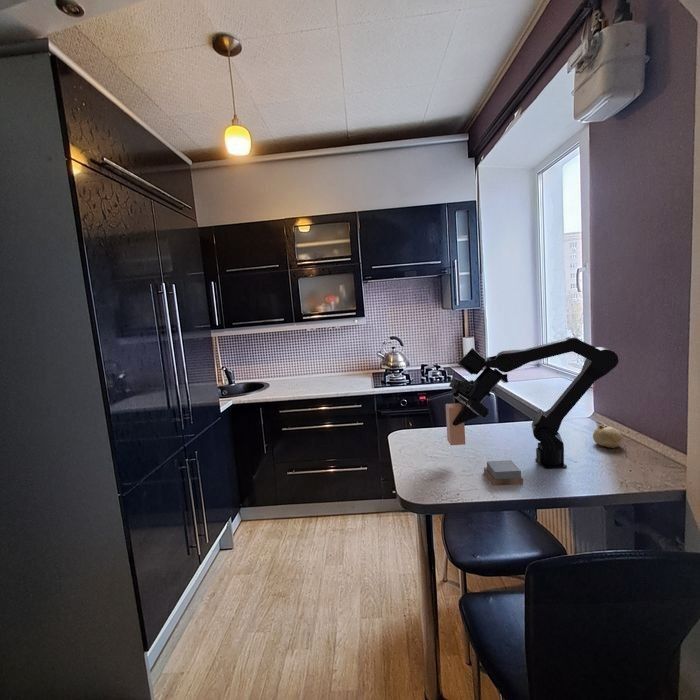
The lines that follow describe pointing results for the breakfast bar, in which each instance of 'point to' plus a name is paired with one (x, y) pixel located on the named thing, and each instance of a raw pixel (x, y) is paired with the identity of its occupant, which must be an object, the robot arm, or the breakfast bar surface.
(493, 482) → the tower base
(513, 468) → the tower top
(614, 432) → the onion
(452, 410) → the pillar
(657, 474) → the breakfast bar surface
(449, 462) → the breakfast bar surface
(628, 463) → the breakfast bar surface
